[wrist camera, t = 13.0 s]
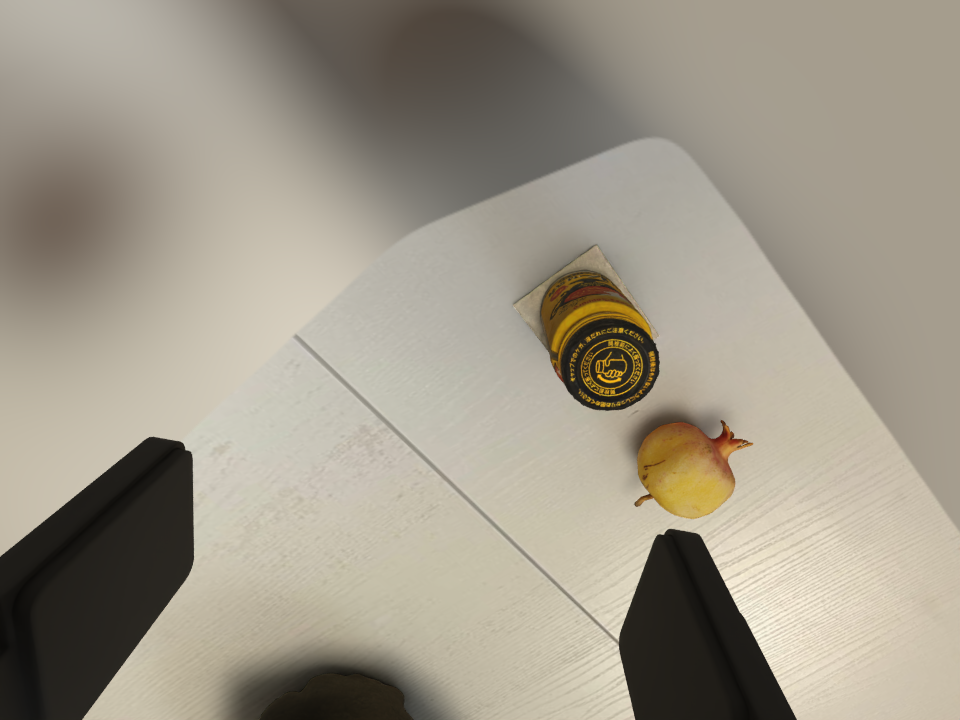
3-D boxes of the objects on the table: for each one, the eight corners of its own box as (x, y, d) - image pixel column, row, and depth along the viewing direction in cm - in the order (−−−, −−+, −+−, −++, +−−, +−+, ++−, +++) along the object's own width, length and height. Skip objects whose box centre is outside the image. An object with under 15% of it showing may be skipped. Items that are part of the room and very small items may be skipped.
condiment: (596, 243, 38) (633, 282, 27) (658, 335, 41) (717, 405, 29) (512, 304, 40) (516, 363, 29) (577, 388, 42) (603, 473, 31)
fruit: (673, 562, 41) (791, 489, 38) (622, 522, 38) (747, 438, 35) (640, 494, 47) (741, 426, 44) (593, 454, 44) (698, 378, 41)
